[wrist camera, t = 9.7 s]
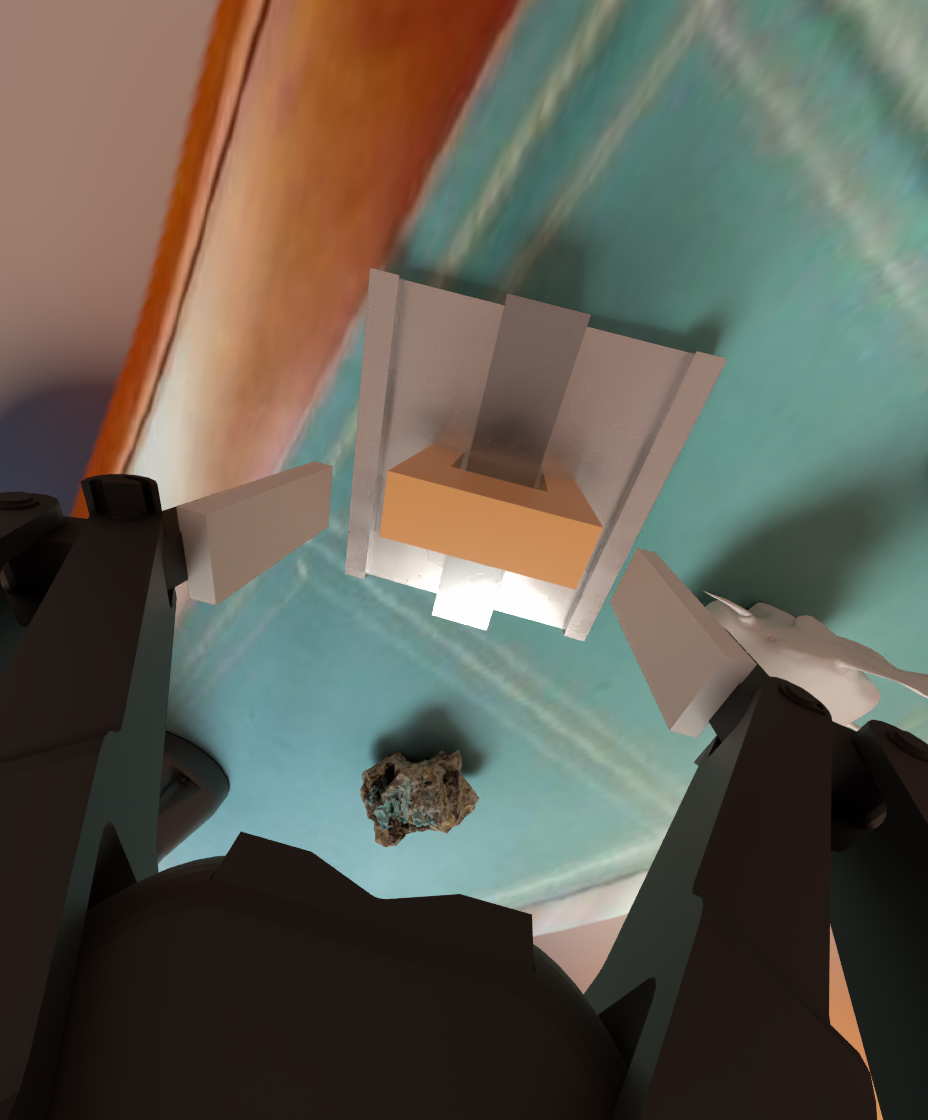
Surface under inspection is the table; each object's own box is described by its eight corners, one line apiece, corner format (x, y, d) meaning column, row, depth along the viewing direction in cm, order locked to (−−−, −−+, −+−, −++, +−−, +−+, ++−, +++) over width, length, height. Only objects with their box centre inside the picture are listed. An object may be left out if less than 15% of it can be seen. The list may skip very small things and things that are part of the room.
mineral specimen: (446, 729, 32) (393, 818, 27) (498, 796, 34) (459, 893, 28) (377, 728, 40) (325, 796, 35) (422, 781, 42) (380, 855, 36)
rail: (354, 564, 27) (332, 586, 24) (381, 277, 19) (353, 254, 16) (580, 627, 26) (588, 659, 23) (711, 361, 18) (750, 355, 15)
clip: (424, 490, 23) (379, 536, 16) (432, 444, 21) (387, 471, 14) (558, 526, 22) (575, 589, 15) (575, 481, 21) (603, 527, 14)
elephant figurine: (716, 539, 22) (825, 622, 14) (863, 625, 23) (1042, 747, 15) (618, 639, 26) (659, 745, 18) (745, 708, 27) (837, 837, 19)
